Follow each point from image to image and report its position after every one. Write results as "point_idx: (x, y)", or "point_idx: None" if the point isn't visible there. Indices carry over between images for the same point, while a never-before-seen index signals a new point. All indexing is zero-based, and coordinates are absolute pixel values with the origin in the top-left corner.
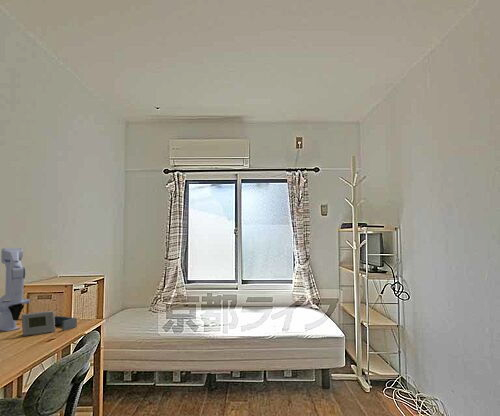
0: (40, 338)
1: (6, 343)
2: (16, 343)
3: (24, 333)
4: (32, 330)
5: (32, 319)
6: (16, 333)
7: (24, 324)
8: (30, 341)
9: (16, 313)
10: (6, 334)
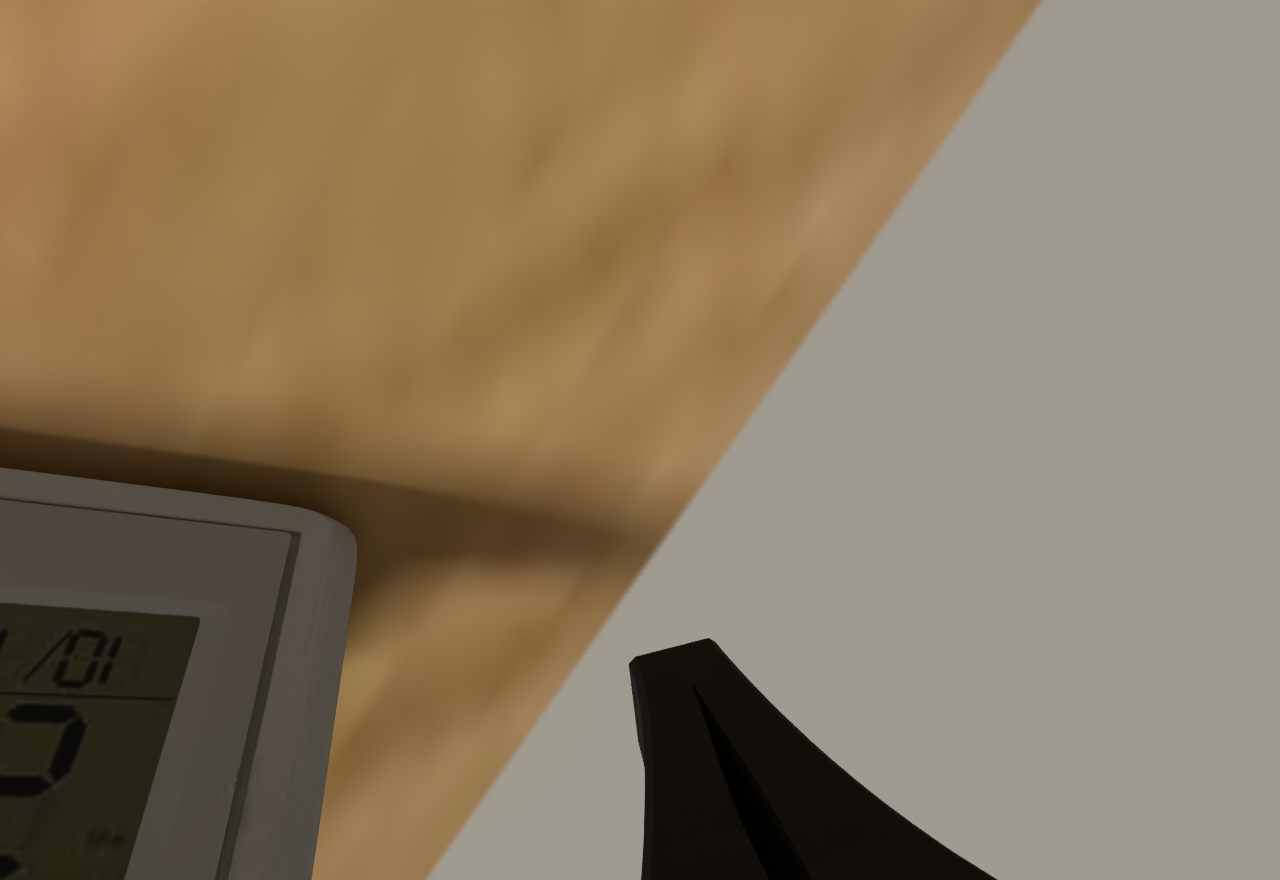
0: (167, 60)
1: (805, 293)
2: (736, 130)
3: (340, 539)
4: (148, 543)
5: (7, 829)
6: None
7: (296, 716)
8: (488, 8)
9: (850, 798)
10: (456, 798)
